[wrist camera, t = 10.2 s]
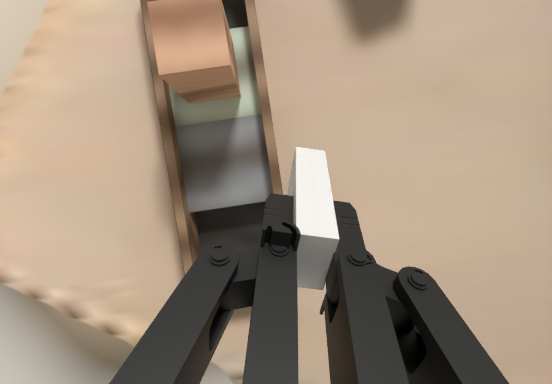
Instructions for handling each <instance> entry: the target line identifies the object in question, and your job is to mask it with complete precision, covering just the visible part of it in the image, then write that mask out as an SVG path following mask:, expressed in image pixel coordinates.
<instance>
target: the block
mask: <svg viewBox="0 0 552 384" xmlns="http://www.w3.org/2000/svg"><path fill="white" fill-rule="evenodd" d="M147 5H148V11H149V17H150V23H151V29H152V36H153V42H154V48H155V54H156V60H157V67H158V73H159V76H160V77H161V78H162V79H164V80H165V81H166V82H167V83H168V84H169V85H170V86H171V87H172V88H173V89H174V90H175V91H176V92H177V93H178V94H179V95H180V96H181V97H182V98H184V99H185V100H186V101H187V102H188V103H189V104H190V103H197V102H204V101H211V100H218V99H225V98H232V97H239V96H241V93H240V86H239V79H238V73H237V66H236V59H235V53H234V46H233V41H232V37H231V34H230V30H229V26H228V22H227V18H226V15H225V11H224V7H223V3H222V0H156V1H149V2H147Z"/></svg>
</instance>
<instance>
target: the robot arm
mask: <svg viewBox="0 0 552 384" xmlns="http://www.w3.org/2000/svg"><path fill="white" fill-rule="evenodd" d="M325 282H326V290H327V291H326V294H325V297H324V300H323V303H322V306H321V309H320V314H322V315H323V312H324V310H325V322H326V334H327V346H328V358H329V370H330V382H331V384H509V383H508V381H507V380H506V379H505V377H504V376H503V374H502V373H501V372H500V370H499V369H498V367H497V366H496V365H495V363H494V362H493V361H492V359H491V358H490V356H489V355H488V354H487V352H486V351H485V349H484V348H483V347H482V345H481V344H480V343H479V341H478V340H477V338H476V337H475V336H474V334H473V333H472V331H471V330H470V329H469V327H468V326H467V324H466V323H465V322H464V320H463V319H462V318H461V316H460V315H459V313H458V312H457V311H456V309H455V308H454V306H453V305H452V304H451V302H450V301H449V300H448V298H447V297H446V295H445V294H444V293H443V291H442V290H441V288H440V287H439V286H438V284H437V283H436V281H435V280H434V279H433V278H432V277H431V276H430V275H429V274H428V273H426V272H425V271H423V270H421V269H418V268H416V267H404V268H402V269H401V270H400V271H399V272H398V273H397V272H394V271H392V270H389V269H386V268H384V267H382V266H380V265H378V264H377V263H376V261H375V259H374V257H373V256H372V255H371V254H370V253H369V252H368V251H367V250H366V249H365V245H364V241H363V237H362V233H361V229H360V227H359V221H358V217H357V213H356V210H355V209H354V208H353V206H352V205H351V204H350V203H347V202H340V201H333V198H332V191H331V185H330V179H329V173H328V167H327V161H326V155H325V151H323V150H315V149H308V148H301V147H296V149H295V154H294V160H293V165H292V171H291V176H290V182H289V187H288V195H281V194H273V193H271V194H270V195H269V197H268V198H267V199H266V203H265V210H264V218H263V225H262V233H261V240H260V242H259V243H258V245H257V246H255V247H254V248H252V249H250V250H246V251H240V252H237V251H236V250H235V249H234V248H233V247H231V246H229V245H227V244H212V245H210V246H208V247H206V248H205V249H204V250H203V251H202V252H201V253H200V254H199V256H198V257H197V259H196V260H195V262H194V263H193V264H192V266H191V267H190V269H189V270H188V272H187V273H186V274H185V276H184V277H183V279H182V280H181V282H180V283H179V285H178V286H177V287H176V289H175V290H174V292H173V293H172V295H171V296H170V297H169V299H168V300H167V302H166V303H165V305H164V306H163V308H162V309H161V310H160V312H159V313H158V315H157V316H156V318H155V319H154V320H153V322H152V323H151V325H150V326H149V328H148V329H147V330H146V332H145V333H144V335H143V336H142V338H141V339H140V341H139V342H138V343H137V345H136V346H135V348H134V349H133V351H132V352H131V353H130V355H129V356H128V358H127V359H126V361H125V362H124V363H123V365H122V366H121V368H120V369H119V371H118V372H117V374H116V375H115V376H114V378H113V379H112V381H111V382H110V384H200V382H201V379H202V377H203V375H204V373H205V371H206V369H207V366H208V364H209V362H210V360H211V358H212V356H213V354H214V352H215V350H216V348H217V345H218V343H219V341H220V339H221V337H222V335H223V333H224V331H225V328H226V326H227V324H228V322H229V320H230V318H231V316H232V314H233V311H234V309H239V308H244V307H249V306H252V311H251V319H250V327H249V335H248V343H247V351H246V359H245V367H244V375H243V383H242V384H298V311H297V287H303V288H311V289H319V290H323V288H324V285H325Z"/></svg>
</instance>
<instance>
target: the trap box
mask: <svg viewBox="0 0 552 384" xmlns="http://www.w3.org/2000/svg"><path fill="white" fill-rule="evenodd" d="M140 1H141V7H142V13H143V19H144V25H145V32H146V38H147V44H148V50H149V56H150V62H151V69H152V75H153V81H154V87H155V93H156V99H157V106H158V112H159V118H160V124H161V130H162V136H163V143H164V149H165V155H166V161H167V167H168V173H169V180H170V186H171V192H172V198H173V204H174V210H175V217H176V223H177V229H178V235H179V241H180V247H181V254H182V260H183V266H184V272H185V274H186V273H187V272H188V270H189V269H190V267H191V266H192V264H193V263H194V262H195V260H196V259H197V257H198V256H199V254H200V253H201V252H202V251H203V250H204V249H205V248H206V247H208V246H210V245H212V244H227V245H229V246H231V247H233V248H234V249H235V250H236V251H237V252H240V251H246V250H250V249H252V248H254V247H255V246H257V245H258V243H259V242H260V240H261V233H262V225H263V218H264V210H265V203H266V199H267V198H268V197H269V195H270V194H271V193H273V194H281V195H283V191H282V184H281V177H280V171H279V164H278V157H277V150H276V143H275V137H274V130H273V123H272V116H271V109H270V103H269V96H268V89H267V82H266V76H265V69H264V62H263V55H262V48H261V42H260V35H259V28H258V21H257V14H256V8H255V1H254V0H222V3H223V7H224V11H225V15H226V18H227V22H228V26H229V30H230V34H231V37H232V41H233V46H234V53H235V59H236V66H237V73H238V79H239V86H240V93H241V96H239V97H232V98H225V99H218V100H211V101H204V102H197V103H190V104H189V103H188V102H187V101H186V100H185V99H184V98H182V97H181V96H180V95H179V94H178V93H177V92H176V91H175V90H174V89H173V88H172V87H171V86H170V85H169V84H168V83H167V82H166V81H165V80H164V79H162V78H161V77H160V76H159V73H158V67H157V60H156V54H155V48H154V42H153V36H152V29H151V23H150V17H149V11H148V5H147V2H149V1H156V0H140Z"/></svg>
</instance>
